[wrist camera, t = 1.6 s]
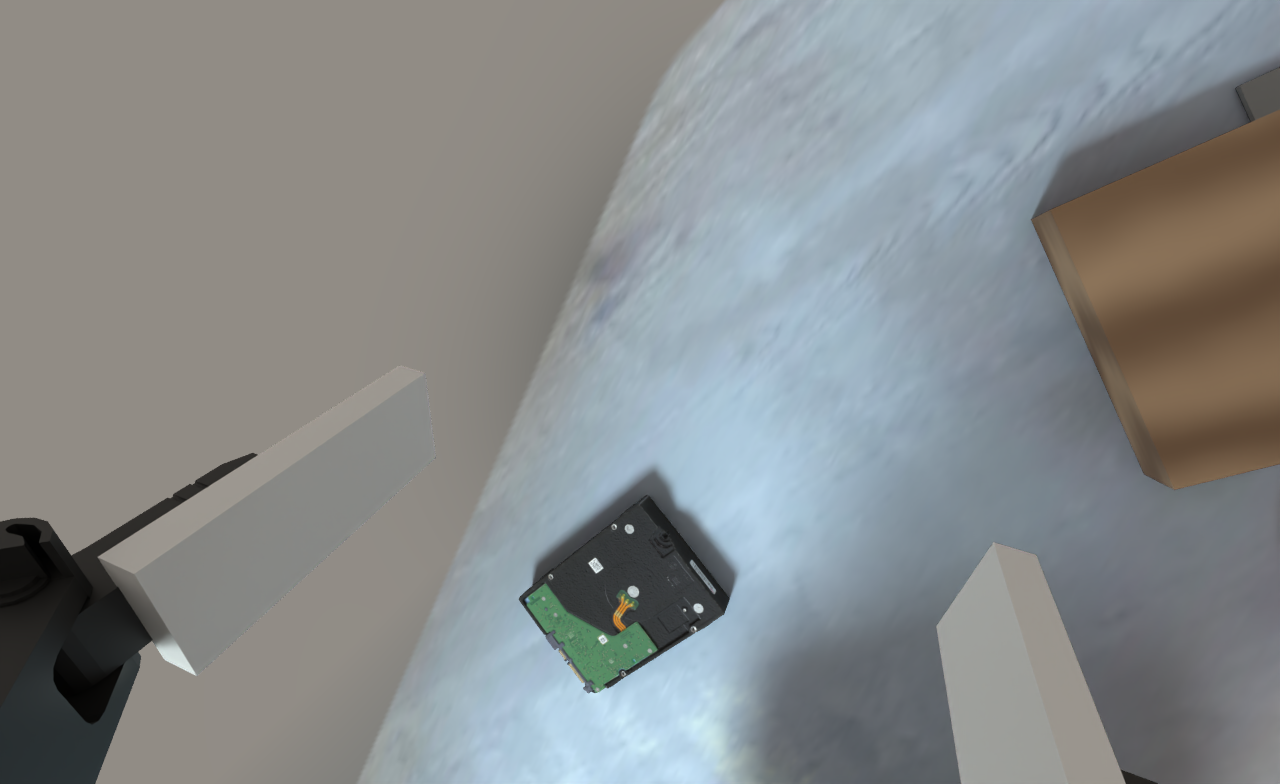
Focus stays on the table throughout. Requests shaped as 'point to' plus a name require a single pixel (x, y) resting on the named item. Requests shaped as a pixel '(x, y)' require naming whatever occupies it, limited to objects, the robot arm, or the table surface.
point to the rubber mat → (1261, 95)
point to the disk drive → (624, 597)
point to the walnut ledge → (1184, 302)
